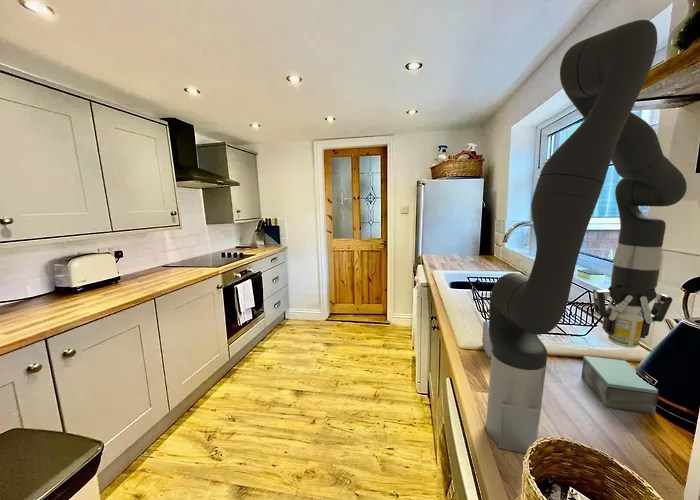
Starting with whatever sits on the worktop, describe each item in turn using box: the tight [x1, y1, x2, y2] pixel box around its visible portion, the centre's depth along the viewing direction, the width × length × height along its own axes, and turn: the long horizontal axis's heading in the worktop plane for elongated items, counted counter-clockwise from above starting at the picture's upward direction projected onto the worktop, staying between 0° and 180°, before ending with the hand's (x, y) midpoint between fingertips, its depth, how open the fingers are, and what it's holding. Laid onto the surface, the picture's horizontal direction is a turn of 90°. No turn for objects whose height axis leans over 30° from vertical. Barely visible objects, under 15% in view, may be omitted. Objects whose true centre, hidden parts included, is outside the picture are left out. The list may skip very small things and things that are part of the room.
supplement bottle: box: [607, 305, 644, 349], centre depth 68 cm, size 5×5×10 cm
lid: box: [582, 355, 659, 395], centre depth 71 cm, size 12×9×1 cm
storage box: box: [580, 359, 659, 417], centre depth 71 cm, size 12×9×5 cm
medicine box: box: [481, 320, 492, 359], centre depth 91 cm, size 8×4×9 cm, turn 169°
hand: (624, 334), depth 69 cm, fingers closed on supplement bottle, 5 cm apart
